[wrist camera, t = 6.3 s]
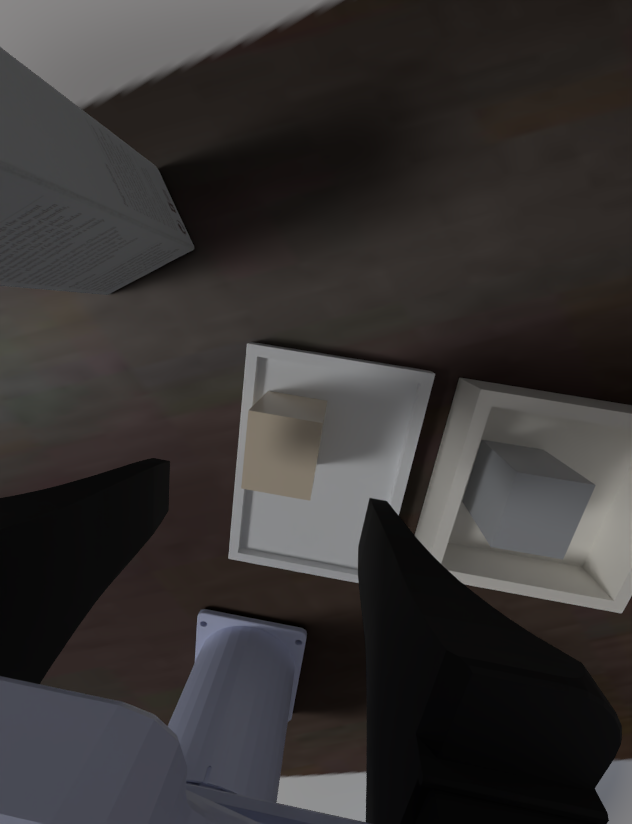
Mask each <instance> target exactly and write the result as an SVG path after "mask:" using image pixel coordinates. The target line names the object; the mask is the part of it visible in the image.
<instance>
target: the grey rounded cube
mask: <svg viewBox="0 0 632 824" xmlns="http://www.w3.org/2000/svg"><path fill="white" fill-rule="evenodd" d="M595 486H596V485H595V484H593V483H592V482H590V481H589V480H588V479H586V478H585V477H583V476H582V475H580V474H579V473H577V472H576V471H574V470H573V469H571V468H570V467H568V466H567V465H565V464H564V463H562V462H561V461H560V460H558V459H557V458H555V457H554V456H552V455H551V454H549V453H548V452H546V451H545V450H543V449H537V448H531V447H525V446H519V445H512V444H506V443H500V442H494V441H488V440H481V443H480V446H479V450H478V453H477V456H476V459H475V462H474V466H473V469H472V472H471V475H470V479H469V482H468V485H467V488H466V491H465V495H464V498H463V501H462V502H463V504H464V505H465V507H466V508H467V510H468V512H469V513H470V515H471V516H472V518H473V519H474V521H475V523H476V524H477V526H478V527H479V529H480V531H481V532H482V534H483V535H484V537H485V539H486V540H487V542H488V543H489V545H490V547H494V548H500V549H505V550H511V551H517V552H523V553H528V554H534V555H540V556H546V557H551V558H557V559H563V558H564V556H565V554H566V552H567V549H568V547H569V545H570V543H571V540H572V538H573V536H574V533H575V531H576V529H577V527H578V524H579V522H580V520H581V517H582V515H583V513H584V511H585V508H586V506H587V504H588V502H589V499H590V497H591V495H592V492H593V490H594V488H595Z"/></svg>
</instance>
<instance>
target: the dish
mask: <svg viewBox="0 0 632 824" xmlns="http://www.w3.org/2000/svg"><path fill="white" fill-rule="evenodd" d="M481 440H488V441H494V442H500V443H506V444H512V445H519V446H525V447H531V448H537V449H543V450H545V451H546V452H548V453H549V454H551V455H552V456H554V457H555V458H557V459H558V460H560V461H561V462H562V463H564V464H565V465H567V466H568V467H570V468H571V469H573V470H574V471H576V472H577V473H579V474H580V475H582V476H583V477H585V478H586V479H588V480H589V481H590V482H592V483H593V484H595V485H596V486H595V488H594V490H593V492H592V495H591V497H590V499H589V502H588V504H587V506H586V508H585V511H584V513H583V515H582V517H581V520H580V522H579V524H578V527H577V529H576V531H575V533H574V536H573V538H572V540H571V543H570V545H569V547H568V549H567V552H566V554H565V556H564V558H563V559H557V558H551V557H546V556H540V555H534V554H528V553H523V552H517V551H511V550H505V549H500V548H494V547H490V545H489V543H488V542H487V540H486V539H485V537H484V535H483V534H482V532H481V531H480V529H479V527H478V526H477V524H476V523H475V521H474V519H473V518H472V516H471V515H470V513H469V512H468V510H467V508H466V507H465V505H464V504H463V502H462V501H463V498H464V495H465V491H466V488H467V485H468V482H469V479H470V475H471V472H472V469H473V466H474V462H475V459H476V456H477V453H478V450H479V446H480V443H481ZM415 537H416V538H417V539H418V540H419V541H420V542H421V543H422V545H423V546H424V547H425V548H426V549H427V550H428V551H429V552H430V553H431V554H432V555H433V556H434V557H435V558H436V559H437V560H438V561H439V562H440V563H441V564H442V565H443V566H444V567H445V568H446V569H447V570H448V571H449V572H450V573H451V574H453V575H454V576H455V577H456V578H457V579H458V580H459V581H460V582H461V583H463V584H466V585H471V586H477V587H482V588H487V589H493V590H498V591H504V592H509V593H514V594H520V595H525V596H531V597H536V598H541V599H547V600H552V601H558V602H563V603H568V604H574V605H579V606H585V607H590V608H595V609H601V610H606V611H611V612H617V613H622V612H623V610H624V609H625V607H626V605H627V603H628V601H629V599H630V598H631V596H632V405H627V404H620V403H614V402H608V401H602V400H596V399H590V398H583V397H577V396H571V395H565V394H559V393H553V392H546V391H540V390H534V389H528V388H522V387H516V386H509V385H503V384H497V383H491V382H485V381H479V380H472V379H466V378H460V377H459V380H458V384H457V387H456V391H455V394H454V398H453V401H452V405H451V409H450V412H449V416H448V419H447V423H446V426H445V430H444V433H443V437H442V441H441V444H440V448H439V451H438V455H437V458H436V462H435V465H434V469H433V472H432V476H431V480H430V483H429V487H428V490H427V494H426V497H425V501H424V504H423V508H422V511H421V515H420V519H419V522H418V526H417V529H416V533H415Z"/></svg>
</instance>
